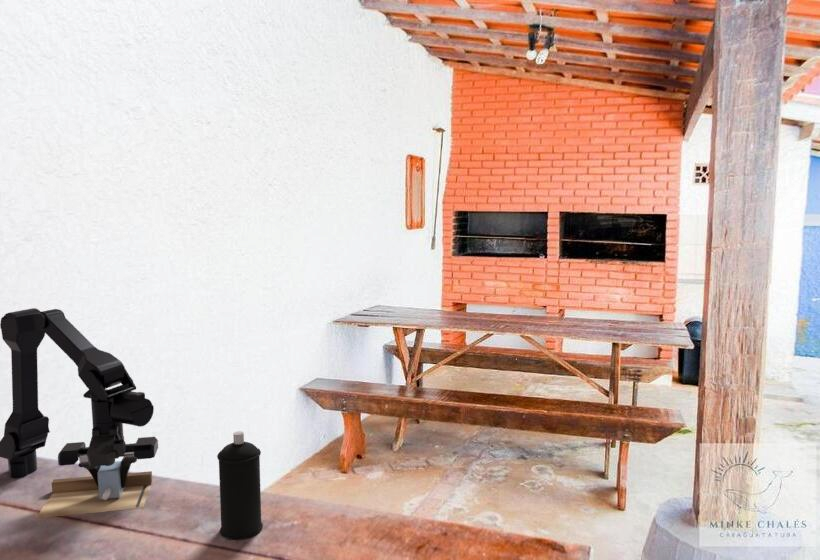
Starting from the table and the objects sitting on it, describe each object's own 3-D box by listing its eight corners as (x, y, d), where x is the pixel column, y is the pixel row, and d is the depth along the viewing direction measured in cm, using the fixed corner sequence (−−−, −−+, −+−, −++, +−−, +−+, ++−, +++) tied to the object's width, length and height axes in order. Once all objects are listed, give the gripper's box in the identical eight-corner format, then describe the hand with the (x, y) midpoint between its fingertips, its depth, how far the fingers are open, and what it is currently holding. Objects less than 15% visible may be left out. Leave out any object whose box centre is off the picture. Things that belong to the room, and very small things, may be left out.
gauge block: (105, 488, 141) (103, 462, 140) (124, 486, 141) (123, 460, 141) (95, 507, 132) (93, 479, 132) (116, 505, 133) (114, 478, 132)
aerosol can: (253, 542, 123) (250, 442, 120) (212, 538, 125) (208, 439, 122) (269, 520, 131) (266, 426, 128) (230, 516, 133) (227, 423, 130)
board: (54, 496, 140) (53, 479, 140) (152, 488, 145) (151, 471, 144) (36, 524, 129) (34, 506, 128) (143, 514, 133) (142, 496, 133)
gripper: (46, 436, 126) (52, 511, 129) (147, 429, 130) (151, 501, 133) (63, 417, 137) (68, 486, 139) (156, 410, 141) (160, 478, 143)
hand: (112, 488), depth 138 cm, fingers closed on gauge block, 4 cm apart
